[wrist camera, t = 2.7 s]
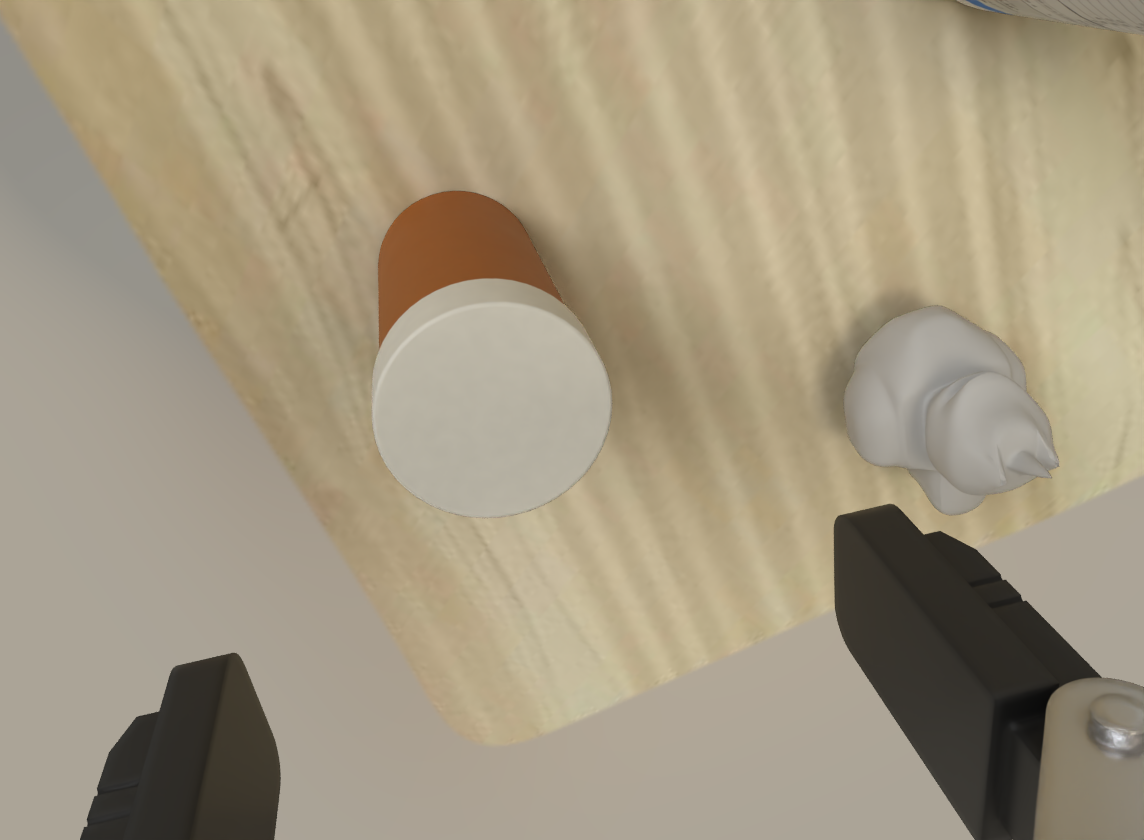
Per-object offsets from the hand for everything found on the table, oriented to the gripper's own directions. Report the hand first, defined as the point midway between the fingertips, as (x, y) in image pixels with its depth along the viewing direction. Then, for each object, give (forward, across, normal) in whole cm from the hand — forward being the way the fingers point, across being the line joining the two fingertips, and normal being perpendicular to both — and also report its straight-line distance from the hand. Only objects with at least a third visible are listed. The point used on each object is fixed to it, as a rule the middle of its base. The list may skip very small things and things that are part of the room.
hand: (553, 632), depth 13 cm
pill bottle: (+16, 0, 0) cm, 16 cm away
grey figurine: (+16, -13, +7) cm, 22 cm away
